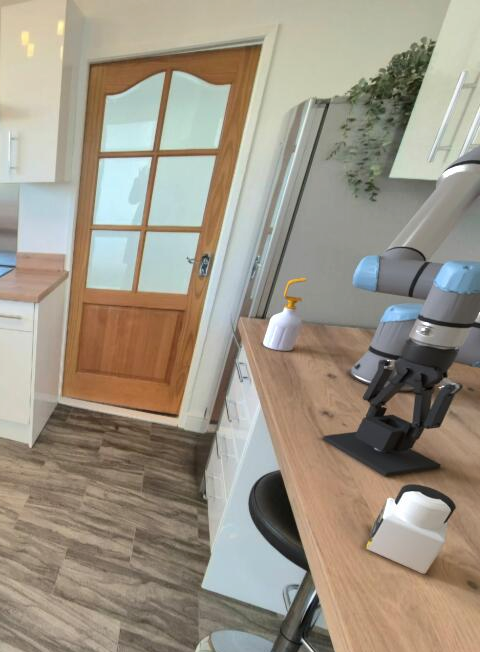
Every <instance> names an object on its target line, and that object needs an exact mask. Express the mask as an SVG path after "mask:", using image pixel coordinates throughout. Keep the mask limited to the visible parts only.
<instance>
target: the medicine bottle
mask: <svg viewBox="0 0 480 652" xmlns="http://www.w3.org/2000/svg"><path fill="white" fill-rule="evenodd" d="M456 508H457V506H456V504H455V502H454V501H453V499H452V498H451V497H449V496H448V495H446V494H445V493H443V492H441V491H439V490H437V489H435V488H432V487H429V486H426V485H422V484H416V483H410V484H404V485H403V486H401V488H400V490H399V492H398V494H397V495H396V497H395V498H392V497H388V498H387V499H386V501H385V503H384V505H383V507H382V508H381V510H380V512H379V514H378V516H377V518H376V519H375V521H374V523H373V524H372V527H371V530H370V534H369V537H368V540H367V544H366V549H367V550H368V551H370V552H372V553H375V554H377V555H379V556H382V557H383V558H386V559H388V560H390V561H392V562H395V563H396V564H400V565H401V566H404V567H407V568H409V569H411V570H412V571H415V572H418V573H420V574H422V575H423V574H424V575H425V574H426V573H427V572H428V570H429V569H430V568H431V566H432V565H433V563H434V562H435V560H436V558H437V556H438V555H439V554H440V552H441V550H442V549H443V547H444V546H445V544H446V543H447V532H448V522H449V519H450V518H451V516H452V515H453V513H454V512H455V511H456Z"/></svg>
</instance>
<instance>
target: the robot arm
mask: <svg viewBox="0 0 480 652" xmlns="http://www.w3.org/2000/svg"><path fill="white" fill-rule="evenodd" d="M478 199H480V145H478V146H476V147H474V148H472V149H470V150H469V151H467V152H465V153H464V154H463V155H461V156H460V157H458V158H457V159H455V160H454V161H453V162H452V163H451V164H450V165H448V166H447V167H446V169H444V171H443V172H442V173H441V174H440V175H439V176H438V178H437V180H436V182H435V189H434V191H433V192H432V193H431V194H430V195H429V197H427V199H426V200H425V201H424V203H423V204H422V206H421V207H420V208H419V209H418V210H417V211H416V213H415V214H414V215H413V216H412V218H411V219H410V220H409V222H407V224H405V226H404V227H403V229H402V230H401V231H400V233H398V234H397V236H396V237H395V238H394V240H393V241H392V242H391V243H390V245H389V246H388V247H387V248H386V249H385V251H383V253H382V255H380V254H377V255H371V254H370V255H367V256H365V257H363V258H362V259H361V260H360V262H359V263H358V265H357V267H356V268H355V270H354V273H353V277H352V285H353V286H354V287H355V288H356V289H360V290H363V291H368V292H372V293H379V294H386V295H392V296H393V295H394V296H400V297H405V298H411V299H417V300H422V301H424V303H398V304H397V303H396V304H393V305H390V306H388V307H387V308H386V309H385V311H384V313H383V315H382V316H381V318H380V319H379V323H378V326H377V328H376V331H375V332H374V335H373V337H372V340H371V341H370V344H369V347H368V349H367V351H366V352H365V353H364V354H363V355H362V356H361V357H360V358H359V360H358V361H357V362H355V364H353V366H352V367H351V369H350V371H349V375H350V376H351V377H352V379H354V380H355V381H358V382H360V383H362V384H364V385H367V386H368V387H367V389H366V390H365V391H364V394H363V396H362V399H363V400H364V401H365V402H366V401H367V403H369V408H368V410H367V413H366V414H365V418H366V417H375V416H385V415H386V412H387V410H388V408H387V407H386V405H387V403H388V402H389V401H390V400H391V399H392V398H394V396H395V395H397V394H398V392H403V393H405V392H406V393H408V392H412V393H413V394H414V401H413V412H412V421H411V422H410V423H409V424H406V426H405V428H404V430H403V432H402V434H401V436H400V438H399V440H398V442H397V444H396V445H395V447H394V449H393V450H394V451H396V452H399V451H407V450H408V448H409V446H410V444H411V442H412V441H413V440H416V441H418V440H419V439H420V438H421V436H422V435H423V432H424V430H431V429H440V428H441V426H442V424H443V422H444V420H445V417H446V415H447V413H448V411H449V409H450V407H451V404H452V402H453V400H454V397H455V395H457V393H459V392H460V391H461V390H462V389H463V388H464V386H463V383H459V382H457V383H456V382H454V381H452V380H451V379H450V378H448V376H449V375H448V371H449V369H450V368H451V367H452V366H453V364H454V363H456V364H460V365H464V366H468V367H470V368H478V369H480V261H475V260H474V261H473V260H449V261H447V262H445V263H442V262H441V263H440V262H432V261H430V259H431V258H432V256H434V254H435V253H436V252H437V250H438V249H439V248H440V247H441V246H442V244H443V243H444V242H445V241H446V239H447V238H448V237H449V235H450V234H451V233H452V231H453V230H454V229H455V228H456V226H457V225H458V224H459V223H460V222H461V220H462V219H463V218H464V217H465V215H466V214H467V212H469V210H470V209H471V208H472V206H474V204H475V203H476V201H477V200H478ZM438 384H440V385H439V387H438V392H437V394H436V396H435V398H434V400H433V403H432V397H433V394H434V393H435V387H436V385H438Z"/></svg>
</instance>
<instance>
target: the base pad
mask: <svg viewBox="0 0 480 652" xmlns="http://www.w3.org/2000/svg"><path fill="white" fill-rule="evenodd" d="M356 432H357V431H352V432H344V433H343V432H342V433H336V434H328V435H324V436H323V438H322V440H323V441H325V442H327V443H328V444H330V445H331V446H333V447H335V448H336V449H338V450H340V451H341V452H342V453H343V452H344V453H345V454H347V455H348V456H350V457H352V458H353V459H355V460H356V461H358V462H360V463H362V464H363V465H365V466H366V467H368V468H370V469H372V470H373V471H375V472H376V473H378V474H380V475H382V476H383V477H392V476H398V475H405V474H410V473H417V472H424V471H430V470H437V469H440V468H441V466H442V464H441V463H439V462H437V461H435V460H433V459H431V458H430V457H427V456H426V455H424V454H421V453H420V452H418V451H416V450H415V449H413V448H409V449H408V450H407V451H399V452H396V451H394V450H393V451H385V452H381V451H379V450H378V449H376V448H374V447H372V446H370V445H369V444H367V443H365V442H363V441H361V440H359V439H358V438H356V437H354V436H355V434H356Z"/></svg>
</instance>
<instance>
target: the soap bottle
mask: <svg viewBox="0 0 480 652" xmlns="http://www.w3.org/2000/svg"><path fill="white" fill-rule="evenodd" d="M306 281H307V278H306V277H300V278H294V279H290V280H289V281H287V283H286V286H285V289H284V292H283V297H284V299H285V300H286V301H287V302H288V304H286V305H284V308H283V310H282V311H281V312H278V313H275V314H273V315H272V316H271V318H270V320H269V323H268V325H267V330H266V332H265V335H264V338H263V342H262V345H263V346H264V347H266V348H268V349H271V350H274V351H279V352H290V351H293V350H294V347H295V344H296V341H297V338H298V335H299V332H300V329H301V327H302V324H303V322H302V319H301V318H300V316H298V315H297V314H296V311H297V306H295V304H297V303H298V302H303V299H302V297H297V296H289V295H287V293H288V291H289V288H290V286H291V285H292V284H296V283H302V282H306Z"/></svg>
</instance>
